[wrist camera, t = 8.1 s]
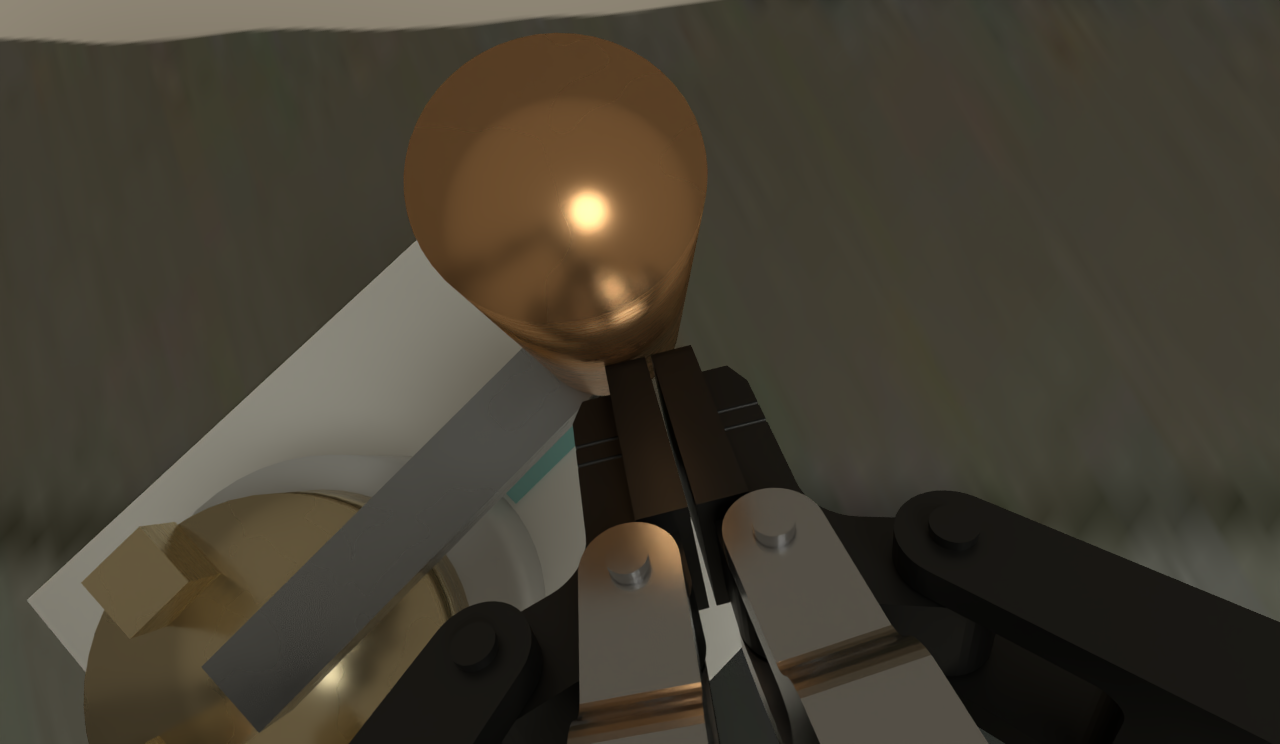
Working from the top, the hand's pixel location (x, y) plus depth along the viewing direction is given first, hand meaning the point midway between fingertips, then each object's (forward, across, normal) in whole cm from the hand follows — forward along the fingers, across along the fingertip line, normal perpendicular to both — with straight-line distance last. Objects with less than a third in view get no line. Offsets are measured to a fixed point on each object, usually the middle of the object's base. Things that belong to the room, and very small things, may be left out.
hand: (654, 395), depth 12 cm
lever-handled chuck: (+4, +7, +6) cm, 10 cm away
